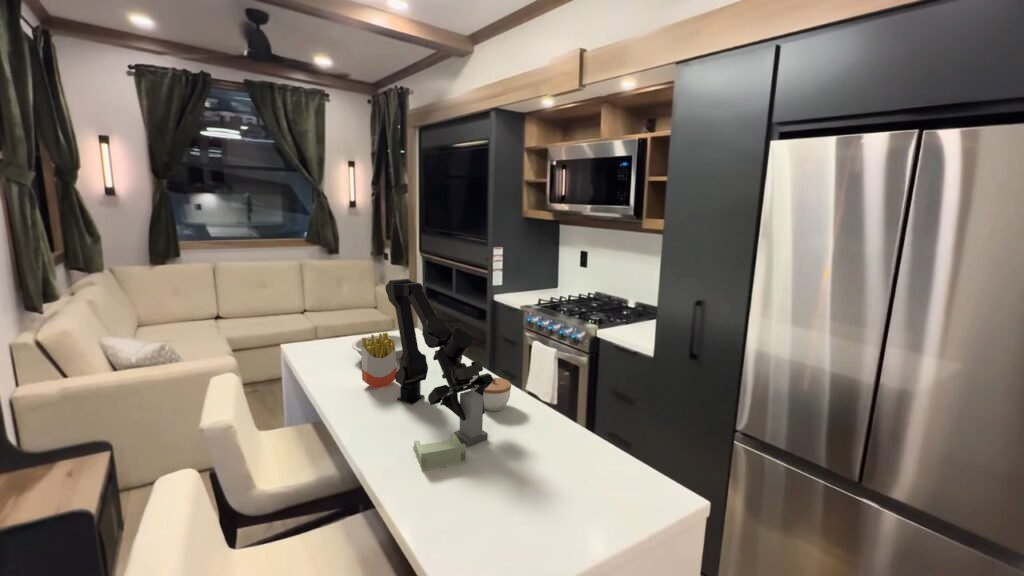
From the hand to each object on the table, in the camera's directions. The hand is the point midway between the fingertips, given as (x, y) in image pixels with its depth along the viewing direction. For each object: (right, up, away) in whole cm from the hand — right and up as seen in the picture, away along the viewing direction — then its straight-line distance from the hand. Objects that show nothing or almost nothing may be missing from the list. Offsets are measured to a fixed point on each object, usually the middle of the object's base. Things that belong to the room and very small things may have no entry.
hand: (474, 416), depth 126 cm
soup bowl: (-42, +6, +63) cm, 76 cm away
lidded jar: (+4, -3, +23) cm, 24 cm away
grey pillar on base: (-1, -7, +2) cm, 7 cm away
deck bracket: (-8, -8, -6) cm, 13 cm away
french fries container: (-35, +1, +37) cm, 51 cm away
